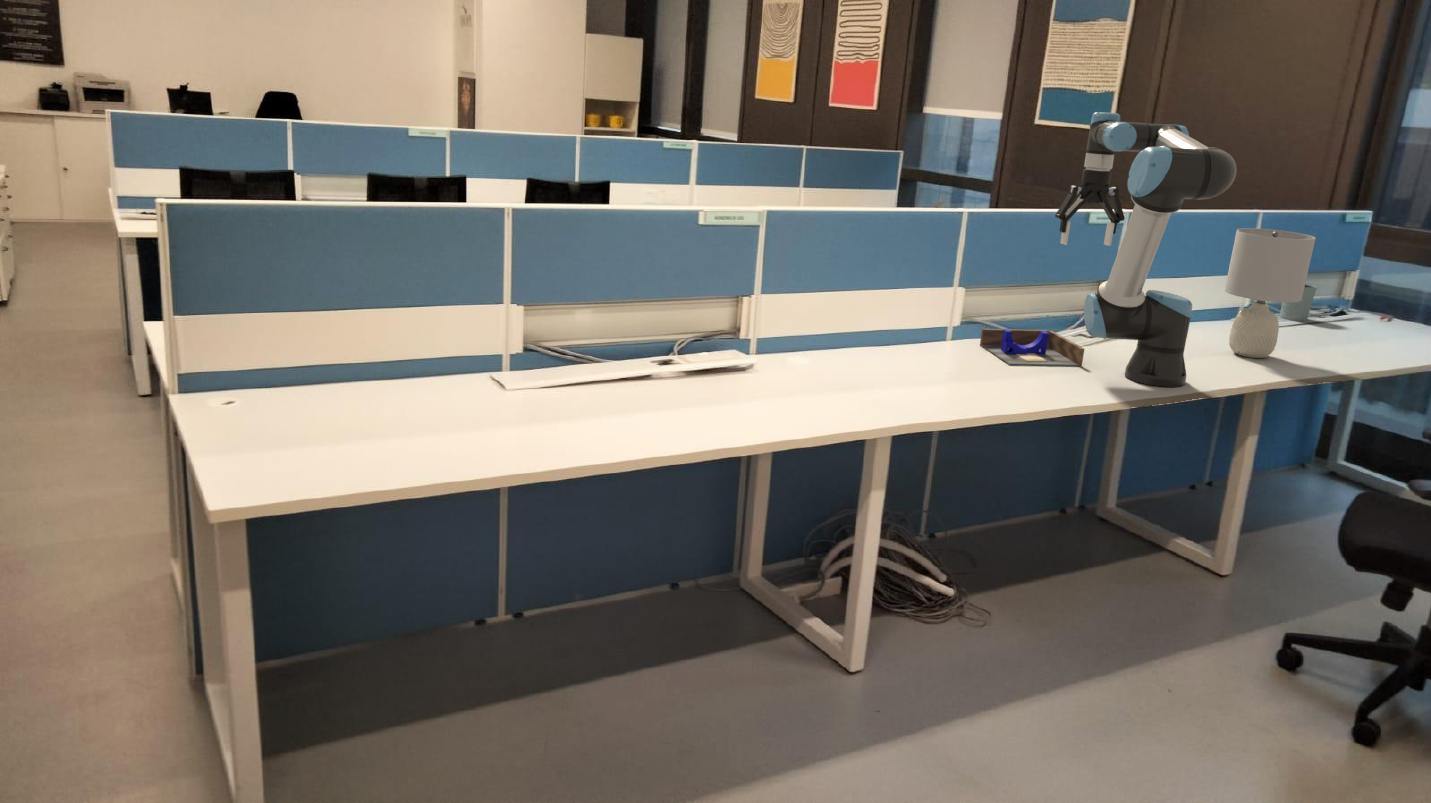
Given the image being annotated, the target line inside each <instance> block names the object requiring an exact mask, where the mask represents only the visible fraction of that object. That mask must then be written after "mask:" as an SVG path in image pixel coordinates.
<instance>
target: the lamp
mask: <svg viewBox="0 0 1431 803" xmlns="http://www.w3.org/2000/svg"><path fill="white" fill-rule="evenodd" d="M1315 242H1316V237H1315V236H1313V235H1309V234H1305V233H1300V232H1296V231H1295V232H1294V231H1287V230H1280V229H1279V230H1278V229H1271V228H1267V229H1266V228H1253V227H1251V228H1248V227H1247V228H1246V227H1245V228H1244V227H1243V228H1237V229H1236V232H1235V237H1234V243H1233V247H1232V251H1231V252H1232V253H1231V256H1230V262H1229V268H1228V272H1227V276H1226V281H1225V285H1224V286H1225V287H1224V292H1225V293H1227V294H1230V295H1233V296H1236V297H1239V298H1240V297H1241V298H1244V299H1250V300H1254V302H1252V304H1251V305H1250V306H1249V307H1247V308H1244V309H1241V310H1240V311H1239V312H1238V313H1237V315H1236V316H1235V317H1234V320H1233V322H1232V326H1231V328H1230V333H1229V338H1228V340H1229V342H1228V343H1229V344H1228V345H1229V347H1230V349H1231V350H1232V352H1233V353H1235V354H1237V355H1238V356H1241V357H1246V358H1250V359H1251V358H1252V359H1264V358H1266V357H1268V356H1270V355H1271V354H1272V353H1273V352H1274V351H1275V349H1276V346H1277V342H1278V337H1279V330H1280V328H1279V327H1280V326H1279V325H1280V324H1279V319H1278V316H1277V314H1275V312H1273V311H1271V309H1270V307H1269V305H1268V304H1267V303H1266V302H1272V303H1273V302H1274V303H1282V302H1287V303H1289V302H1299V301H1301V300H1302V296H1303V291H1304V287H1305V284H1306V282H1307V278H1308V273H1309V268H1310V264H1311V260H1312V254H1313V251H1314V248H1315V247H1314V246H1315ZM1255 300H1256V301H1255Z"/></svg>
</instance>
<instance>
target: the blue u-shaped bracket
mask: <svg viewBox="0 0 1431 803" xmlns="http://www.w3.org/2000/svg"><path fill="white" fill-rule="evenodd" d="M1003 329H1004V330H1003V337H1002V344H1001V350H1002V351H1003V352H1004V353H1008V354H1026V353H1035V354H1046V348H1047V341H1048V335H1049V333H1047V332H1046V331H1040V333H1039V336H1038V337H1037V339H1036V340H1035V341H1034V342H1032V343H1031V344H1028V345H1018V344H1016V343H1015V342H1014V341H1013V339H1012V331H1010V330H1009V328H1003ZM1040 348H1041V349H1040ZM1039 349H1040V350H1039Z"/></svg>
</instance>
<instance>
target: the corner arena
mask: <svg viewBox="0 0 1431 803" xmlns="http://www.w3.org/2000/svg"><path fill="white" fill-rule="evenodd" d="M1004 329H1005V328H981V333H980V341H979V342H980V343H979V346H980V347H981V348H983V349H985V350H986V351H987V352H988V353H990V354H992V355H993V356H995V357H996V358H997V359H999V360H1001V361H1002V362H1003V363H1005V364H1006V365H1007V366H1024V367H1025V366H1028V367H1029V366H1031V367H1032V366H1033V367H1034V366H1035V367H1036V366H1038V367H1039V366H1040V367H1083V360H1084V353H1085V348H1084V347H1082V346H1081V345H1079V344H1077V343H1075V342H1073V341H1071V340H1069V339H1068V338H1066V337H1064V336H1062V335H1060V334H1058V333H1057V332H1055V331H1053V330H1051V329H1017V328H1016V329H1015V328H1014V329H1011V328H1010V329H1009V328H1008V329H1009V330H1010V331H1012V339H1013V341H1014V342H1015V343H1016V344H1018V345H1028V344H1031V343H1032V342H1034V341H1035V340H1036V339H1037V337H1038V336H1039V333H1040V331H1046V332H1047V333H1049V335H1048V341H1047V348H1046V354H1035V353H1026V354H1008V353H1004V352H1003V351H1002V350H1001V344H1002V337H1003V330H1004ZM1040 349H1041V348H1040ZM1040 349H1039V350H1040Z"/></svg>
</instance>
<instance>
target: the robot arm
mask: <svg viewBox="0 0 1431 803" xmlns="http://www.w3.org/2000/svg"><path fill="white" fill-rule="evenodd" d="M1091 116H1092V117H1091V120H1090V123H1089V131H1088V132H1089V133H1088V138H1087V144H1086V151H1085V152H1086V153H1085V158H1084V165H1083V167H1084V169H1083V170H1082V176H1081V177H1082V178H1081V185H1080V186H1076V185H1070V187H1069V190H1068V194H1067V195H1066V197H1065V199H1064V200H1063V202H1062V203H1061V205H1060V207H1059V208H1058V210H1057V211H1056V213H1055V215H1054V217H1055V218H1056V219H1059V220H1060V225H1059V232H1060V233H1061V235H1060V242H1059V243H1060V244H1061V245H1064V246H1067V245H1068V241H1069V235H1070V230H1071V223H1072V222H1071V221H1069V220H1070V219H1071V218H1072V217H1073V216H1074V215H1075V214H1076V213H1077V212H1078V211H1079V210H1080V209H1081V208H1082V207H1083V206H1084V205H1086V204H1087V203H1088V204H1093V203H1094V204H1100V206H1101V207H1102V209H1103V211H1104V213H1105V214H1106V216H1107V218H1108V219H1109V220H1110V221H1106V228H1105V235H1104V241H1103V246H1104V245H1105V246H1108V247H1111V246H1112V242H1113V235H1115V234H1116V232H1117V227H1118V226H1117V225H1118V224H1119V223H1120V222H1121V221H1122V222H1123V221H1125V219H1126V218H1125V215H1124V211H1123V207H1122V204H1121V203H1122V202H1121V200H1120V197H1119V194H1120V191H1119V187H1116V186H1111V187H1109V185H1110V183H1111V179H1112V178H1111V177H1112V172H1111V170H1112V169H1113V165H1114V159H1115V152H1118V153H1119V152H1120V153H1121V152H1133V153H1134V152H1137V155H1136V156H1135V158H1134V160H1133V161H1132V163H1131V165H1130V168H1129V172H1128V178H1127V191H1128V193H1129V194H1130V198H1131V200H1132V202H1133V204H1134V205H1133V209H1132V211H1131V214H1130V218H1129V221H1128V223H1127V225H1126V228H1125V231H1124V234H1123V238H1122V240H1121V243H1120V245H1119V248H1118V252H1117V253H1116V254H1117V255H1116V257H1115V260H1114V262H1113V265H1112V268H1111V271H1110V274H1109V277H1108V279H1107V280H1105V281H1103V282H1102V283H1100V285H1098V286H1099V287H1098V289H1097V292H1091V293H1088V294H1087V295H1086V298H1085V300H1084V304H1083V306H1084V307H1083V316H1084V317H1083V318H1084V326H1085V329H1086V331H1087V333H1088V335H1089V336H1090V337H1093V338H1098V339H1099V338H1101V339H1103V340H1107V339H1110V340H1111V339H1113V340H1132V341H1137V344H1136V349H1134V352H1133V354H1132V356H1131V357H1130V359H1129V361H1128V363H1127V365H1125V366H1126V367H1125V370H1124V371H1125V372H1124V376H1125V378H1126V379H1128V380H1130V381H1134V382H1137V383H1139V382H1140V384H1143V383H1144V385H1150V386H1153V387H1154V386H1155V387H1162V386H1164V388H1165V387H1167V388H1175V387H1176V388H1177V387H1183V386H1184V385H1185V384H1186V382H1187V371H1186V370H1187V369H1186V363H1185V355H1184V352H1185V348H1186V344H1187V338H1188V333H1189V330H1190V324H1191V319H1192V312H1193V303H1192V301H1191V300H1190V299H1188V298H1186V297H1183V296H1182V295H1180V294H1179V295H1178V294H1174V293H1170V292H1166V291H1162V290H1155V289H1149V290H1147V291H1146V292H1145V293H1144V291H1143V288H1144V285H1145V283H1146V281H1147V278H1148V275H1149V272H1150V270H1151V267H1152V265H1153V261H1154V259H1155V257H1156V254H1157V252H1158V249H1159V246H1160V244H1161V241H1162V239H1163V236H1164V234H1165V231H1166V228H1167V225H1168V223H1169V220H1170V218H1171V215H1172V214H1174V213H1176V212H1179V210H1180V209H1181V207H1182V205H1183V203H1184V200H1207V199H1208V200H1209V199H1212V198H1215V197H1218V196H1220V195H1221V194H1223V193H1225V192H1226V191H1227V190H1228V189H1230V187H1231V186H1232V185H1233V183H1234V181H1235V179H1236V176H1237V172H1238V171H1237V169H1238V168H1237V164H1236V163H1237V162H1236V161H1235V159H1234V158H1233V156H1232V155H1231V154H1230V153H1228V152H1226V151H1225V150H1223V149H1221V148H1218V147H1208V146H1207V145H1205V144H1203V143H1201V142H1200V141H1198V140H1197V139H1194V138H1193V137H1191V136H1190V133H1189V131H1188V128H1187V127H1186V126H1185V125H1180V124H1174V123H1172V124H1171V123H1169V124H1165V123H1163V124H1162V123H1147V122H1130V121H1121V114H1119V113H1117V112H1100V111H1095V112H1093V113H1092V115H1091ZM1079 193H1080V196H1078V194H1079ZM1107 195H1109V196H1110V201H1111V204H1110V202H1109V200H1108V198H1107V197H1106V196H1107ZM1077 196H1078V198H1077V199H1076V197H1077ZM1075 199H1076V200H1075ZM1074 200H1075V202H1074ZM1073 202H1074V203H1073ZM1111 205H1112V206H1111Z"/></svg>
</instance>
